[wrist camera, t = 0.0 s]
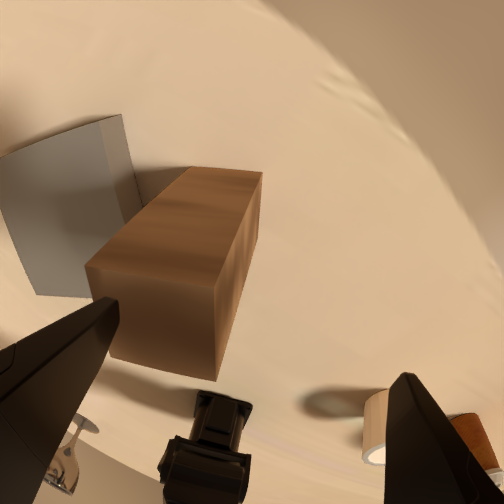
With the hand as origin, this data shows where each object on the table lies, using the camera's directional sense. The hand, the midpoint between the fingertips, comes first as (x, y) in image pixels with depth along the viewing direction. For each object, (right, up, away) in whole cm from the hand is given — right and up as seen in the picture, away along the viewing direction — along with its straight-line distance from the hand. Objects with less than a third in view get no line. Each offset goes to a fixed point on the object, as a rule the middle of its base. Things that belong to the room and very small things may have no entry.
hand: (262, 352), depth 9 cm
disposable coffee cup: (+29, -21, +25) cm, 44 cm away
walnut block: (-2, +6, +14) cm, 15 cm away
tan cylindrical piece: (+15, -14, +23) cm, 31 cm away
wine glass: (-32, -29, +40) cm, 59 cm away
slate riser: (-16, +6, +16) cm, 23 cm away
